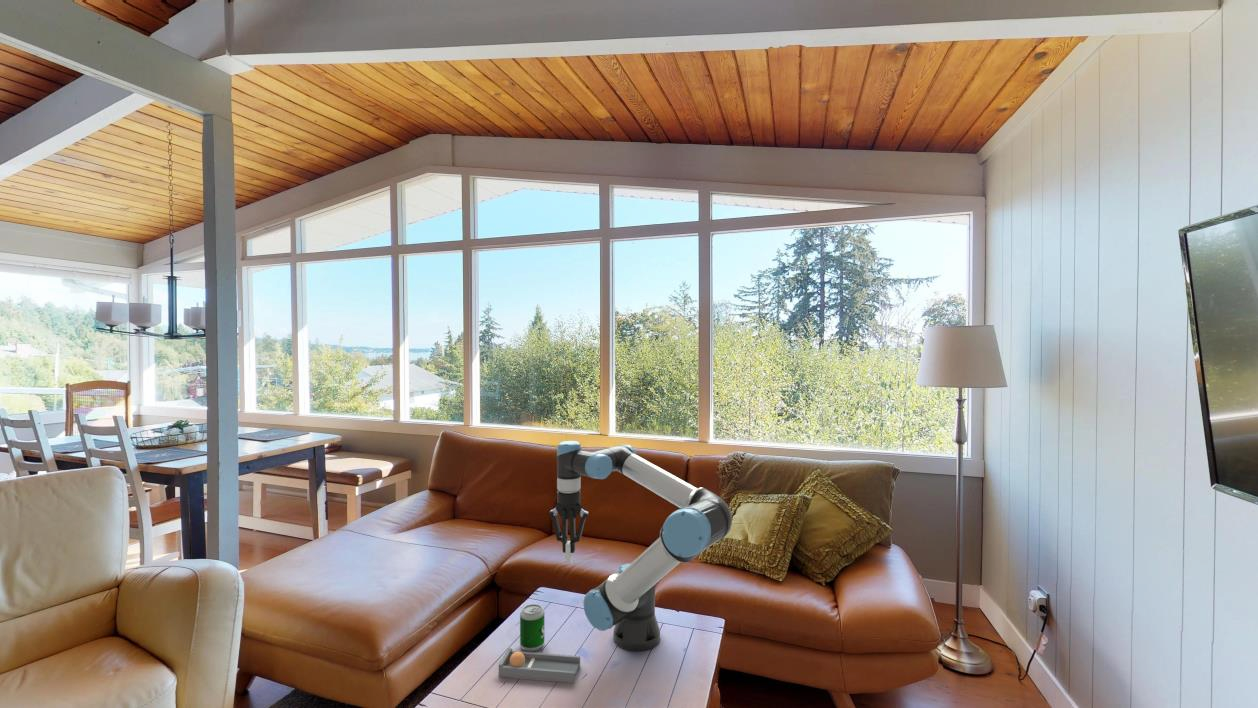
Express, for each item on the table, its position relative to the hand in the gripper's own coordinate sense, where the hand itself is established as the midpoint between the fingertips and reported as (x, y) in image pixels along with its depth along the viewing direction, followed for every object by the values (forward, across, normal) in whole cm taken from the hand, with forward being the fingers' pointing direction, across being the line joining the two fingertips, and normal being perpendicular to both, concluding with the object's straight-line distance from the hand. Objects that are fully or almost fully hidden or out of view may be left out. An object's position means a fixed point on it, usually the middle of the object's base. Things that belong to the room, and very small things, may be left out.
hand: (568, 562), depth 175 cm
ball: (+21, +11, +20) cm, 31 cm away
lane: (+24, +4, +19) cm, 31 cm away
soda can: (+25, +10, +7) cm, 27 cm away
